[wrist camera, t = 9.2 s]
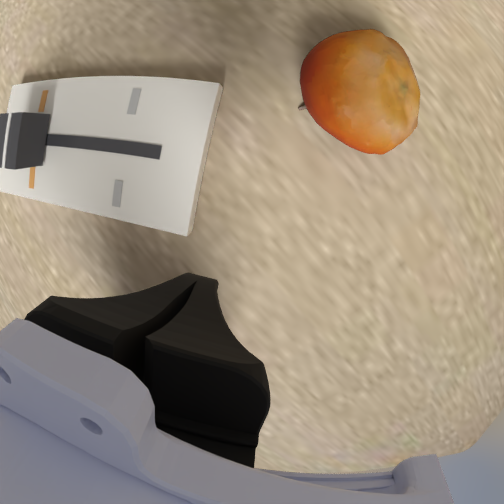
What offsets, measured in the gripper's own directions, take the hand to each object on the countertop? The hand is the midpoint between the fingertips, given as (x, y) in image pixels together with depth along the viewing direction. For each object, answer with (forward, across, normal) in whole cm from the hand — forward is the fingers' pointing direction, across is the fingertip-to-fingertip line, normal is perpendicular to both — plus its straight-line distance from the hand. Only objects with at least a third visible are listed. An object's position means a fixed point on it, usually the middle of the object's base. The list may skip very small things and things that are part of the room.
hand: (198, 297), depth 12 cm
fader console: (+10, +14, -5) cm, 18 cm away
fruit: (+11, -6, -12) cm, 17 cm away
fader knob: (+9, +19, -5) cm, 22 cm away
